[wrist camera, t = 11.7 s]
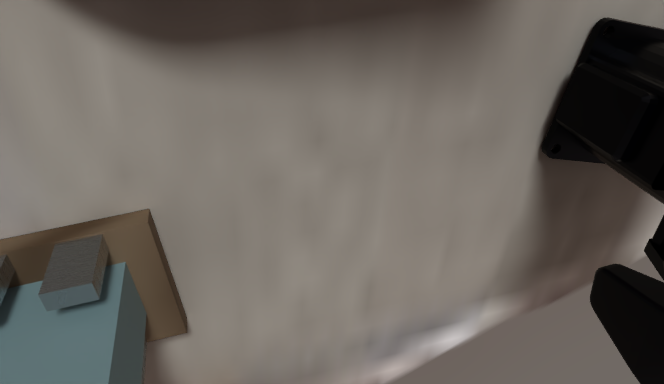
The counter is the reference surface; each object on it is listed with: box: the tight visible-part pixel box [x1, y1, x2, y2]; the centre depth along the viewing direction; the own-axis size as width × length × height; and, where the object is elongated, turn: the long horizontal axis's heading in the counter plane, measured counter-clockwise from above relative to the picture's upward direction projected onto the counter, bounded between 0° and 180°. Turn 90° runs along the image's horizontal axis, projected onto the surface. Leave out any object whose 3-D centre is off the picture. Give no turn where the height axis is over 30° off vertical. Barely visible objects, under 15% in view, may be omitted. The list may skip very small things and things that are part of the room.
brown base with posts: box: [0, 209, 187, 384], centre depth 21 cm, size 9×6×4 cm
